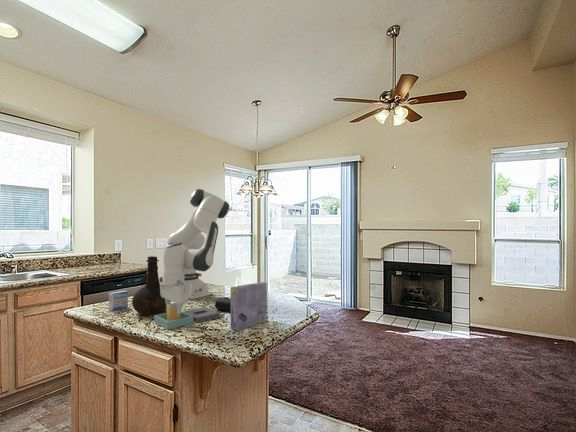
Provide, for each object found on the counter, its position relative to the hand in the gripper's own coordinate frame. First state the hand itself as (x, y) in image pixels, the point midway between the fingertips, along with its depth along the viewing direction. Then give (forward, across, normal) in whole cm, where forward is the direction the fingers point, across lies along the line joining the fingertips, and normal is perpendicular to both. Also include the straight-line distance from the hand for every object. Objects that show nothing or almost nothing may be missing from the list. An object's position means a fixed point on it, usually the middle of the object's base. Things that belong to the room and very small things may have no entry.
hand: (173, 310), depth 138 cm
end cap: (+6, 0, -28) cm, 29 cm away
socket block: (+6, 0, -13) cm, 14 cm away
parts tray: (+6, 0, 0) cm, 6 cm away
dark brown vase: (+6, +24, 0) cm, 25 cm away
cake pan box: (+6, -25, -23) cm, 34 cm away
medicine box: (+6, +45, +9) cm, 46 cm away
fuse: (+5, 0, 0) cm, 5 cm away
